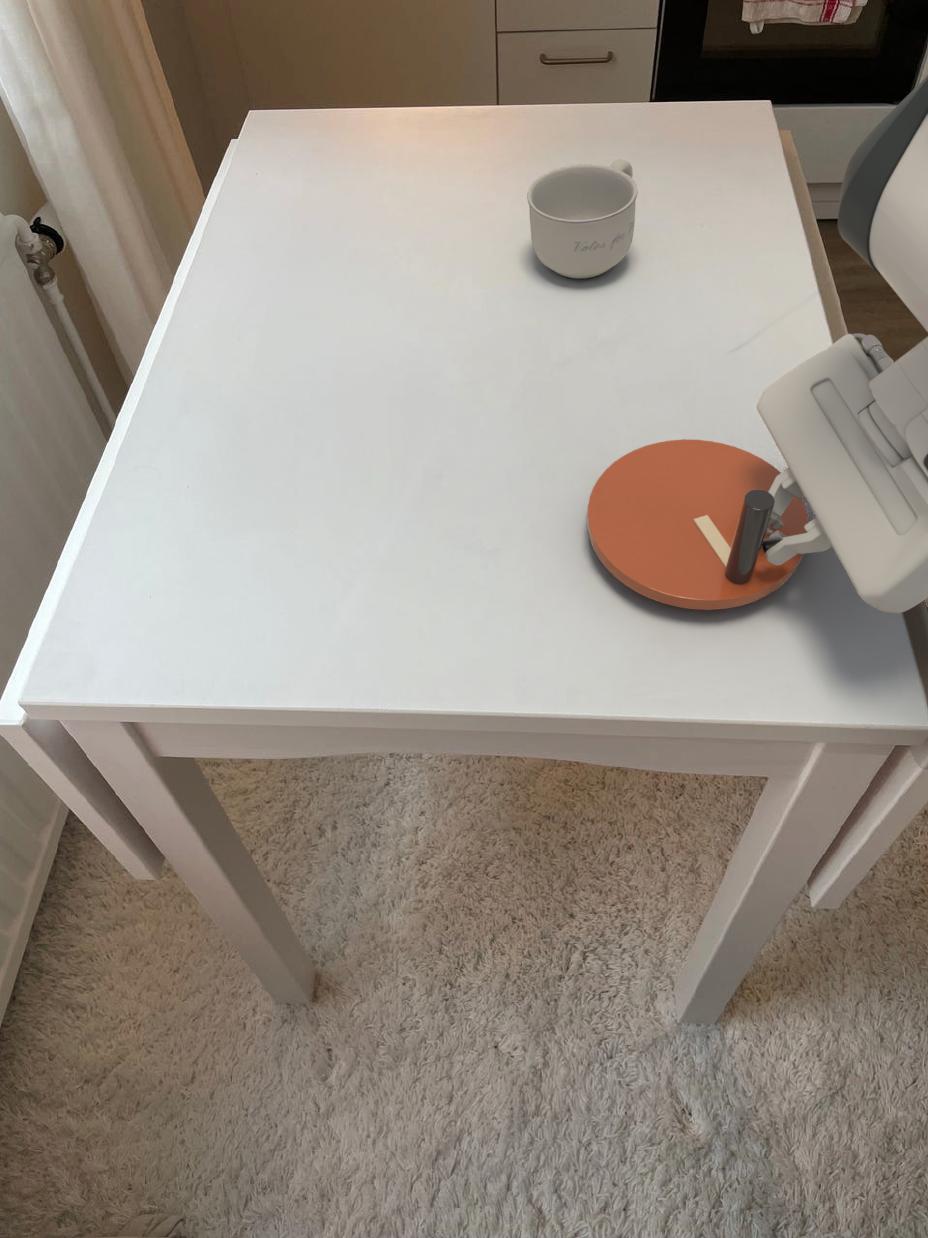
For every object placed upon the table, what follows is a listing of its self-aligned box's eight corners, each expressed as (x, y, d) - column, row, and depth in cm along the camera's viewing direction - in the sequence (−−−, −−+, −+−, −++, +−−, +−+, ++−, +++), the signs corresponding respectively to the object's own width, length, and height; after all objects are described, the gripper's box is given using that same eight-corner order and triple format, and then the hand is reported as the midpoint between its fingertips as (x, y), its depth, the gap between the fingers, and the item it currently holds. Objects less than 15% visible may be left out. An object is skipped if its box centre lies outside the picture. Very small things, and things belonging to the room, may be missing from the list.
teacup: (579, 305, 96) (583, 232, 89) (505, 261, 101) (504, 189, 94) (672, 248, 101) (682, 174, 94) (597, 209, 106) (602, 137, 99)
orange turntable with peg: (843, 506, 76) (878, 418, 68) (737, 647, 68) (763, 566, 61) (659, 422, 83) (672, 334, 75) (544, 542, 75) (547, 457, 68)
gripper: (843, 299, 66) (689, 428, 74) (991, 512, 54) (790, 641, 62) (885, 340, 70) (735, 459, 78) (1033, 548, 58) (839, 665, 66)
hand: (761, 541), depth 70 cm, fingers closed
